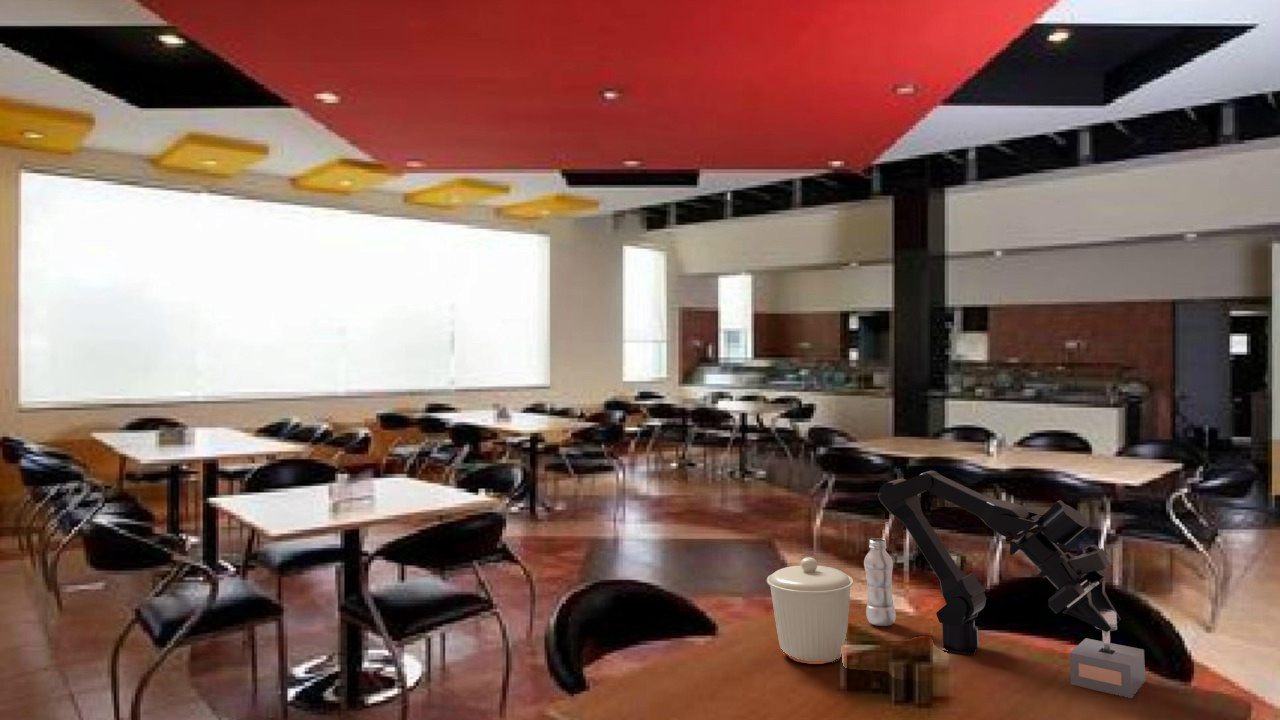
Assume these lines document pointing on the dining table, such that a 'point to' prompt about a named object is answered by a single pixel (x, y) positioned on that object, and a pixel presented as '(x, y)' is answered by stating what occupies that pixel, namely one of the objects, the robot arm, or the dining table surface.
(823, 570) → the canister
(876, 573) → the plastic bottle
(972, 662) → the dining table surface
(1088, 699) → the dining table surface
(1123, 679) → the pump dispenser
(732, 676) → the dining table surface
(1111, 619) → the pump plunger
